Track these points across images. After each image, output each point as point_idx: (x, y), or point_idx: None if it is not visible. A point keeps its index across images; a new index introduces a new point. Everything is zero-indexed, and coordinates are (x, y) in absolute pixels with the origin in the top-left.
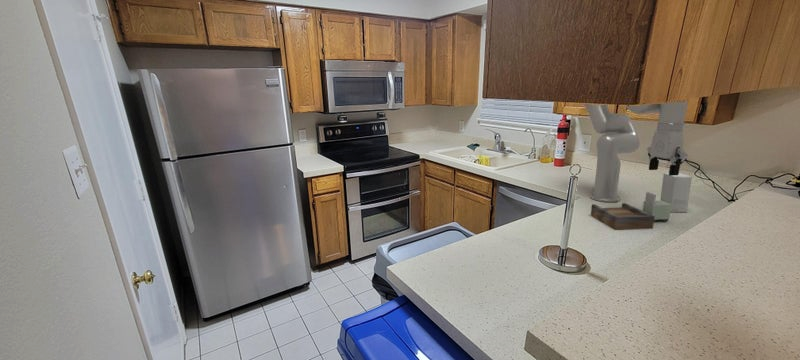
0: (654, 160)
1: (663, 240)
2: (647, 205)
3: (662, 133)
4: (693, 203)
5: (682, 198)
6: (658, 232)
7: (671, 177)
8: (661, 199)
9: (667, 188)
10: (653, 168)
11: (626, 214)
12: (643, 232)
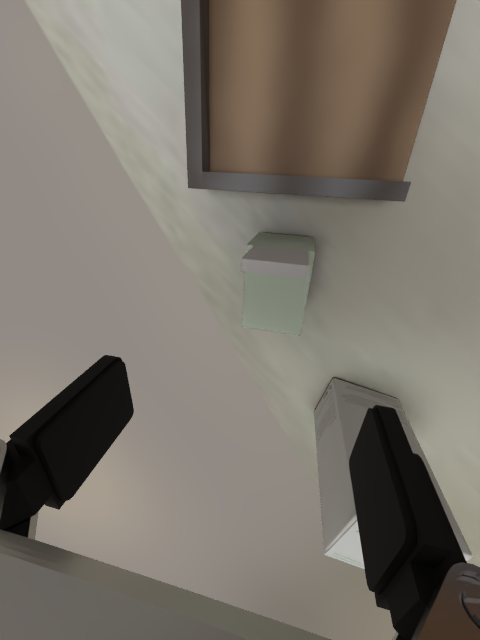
0: (398, 568)
1: (105, 132)
2: (286, 245)
3: None
4: None
5: (323, 438)
6: (171, 177)
7: None
8: (400, 418)
9: None
10: (364, 443)
11: (293, 115)
12: (172, 111)
